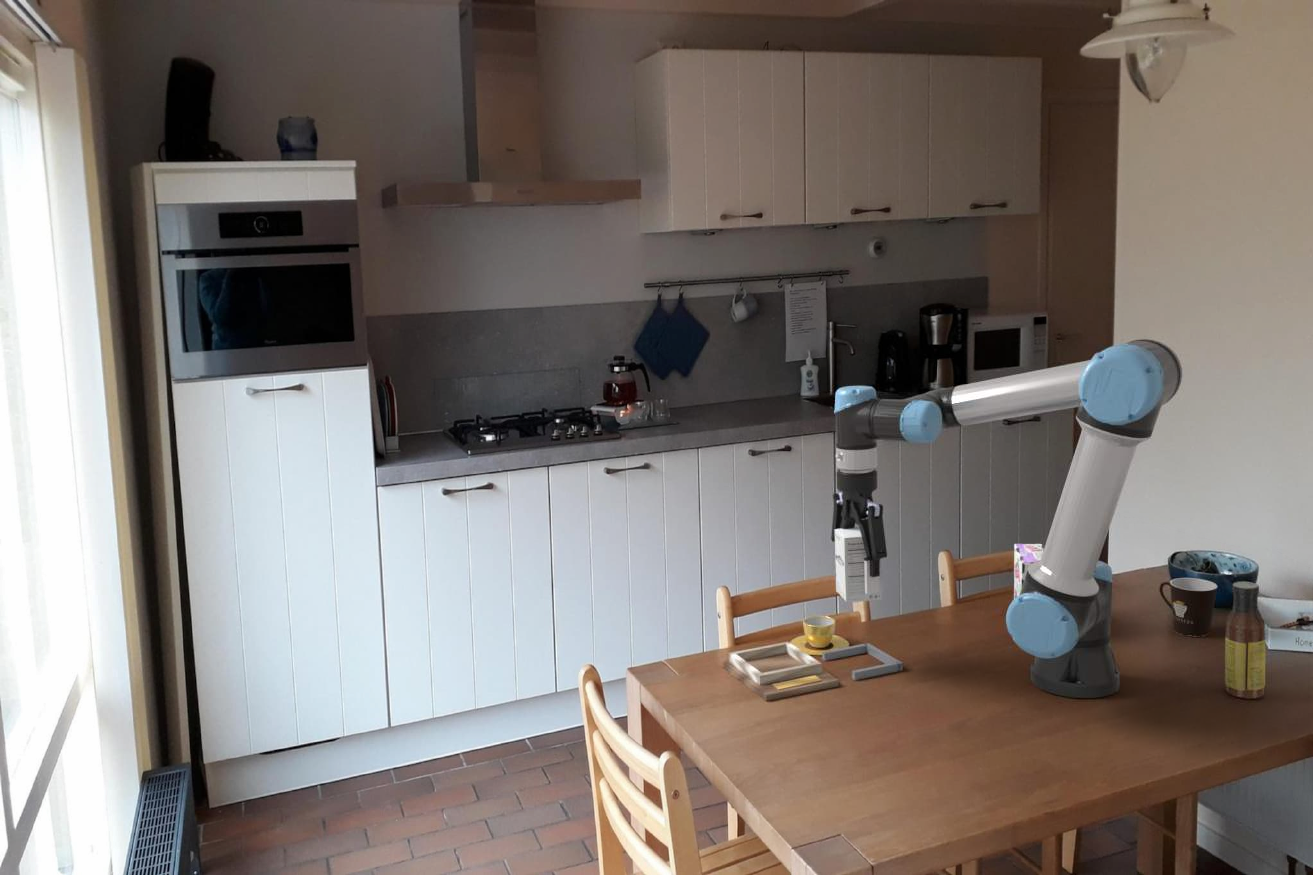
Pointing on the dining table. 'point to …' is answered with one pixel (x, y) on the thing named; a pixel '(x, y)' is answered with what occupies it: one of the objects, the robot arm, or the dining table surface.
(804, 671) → the board
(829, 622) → the cup
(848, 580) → the supplement box
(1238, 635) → the sauce bottle
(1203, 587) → the coffee mug
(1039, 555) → the candy box
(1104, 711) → the dining table surface
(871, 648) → the bracket
